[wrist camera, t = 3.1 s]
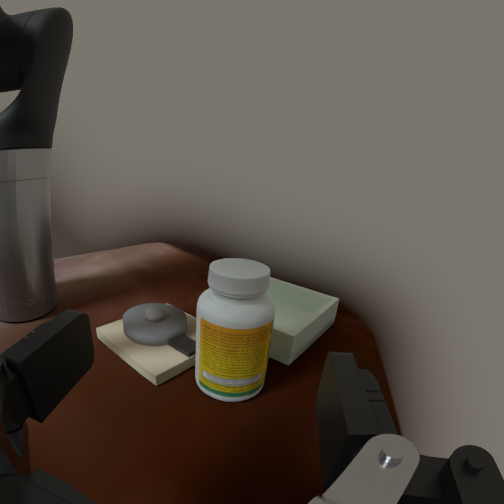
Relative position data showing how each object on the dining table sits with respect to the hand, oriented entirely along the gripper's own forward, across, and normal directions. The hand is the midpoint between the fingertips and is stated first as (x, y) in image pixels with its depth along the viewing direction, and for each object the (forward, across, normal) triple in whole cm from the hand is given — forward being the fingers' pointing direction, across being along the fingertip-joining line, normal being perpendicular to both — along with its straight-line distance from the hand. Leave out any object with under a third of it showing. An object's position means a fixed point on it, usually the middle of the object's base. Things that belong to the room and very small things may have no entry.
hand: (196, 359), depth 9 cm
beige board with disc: (+16, +7, +10) cm, 20 cm away
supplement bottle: (+12, 0, +10) cm, 15 cm away
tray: (+22, -2, +10) cm, 24 cm away
